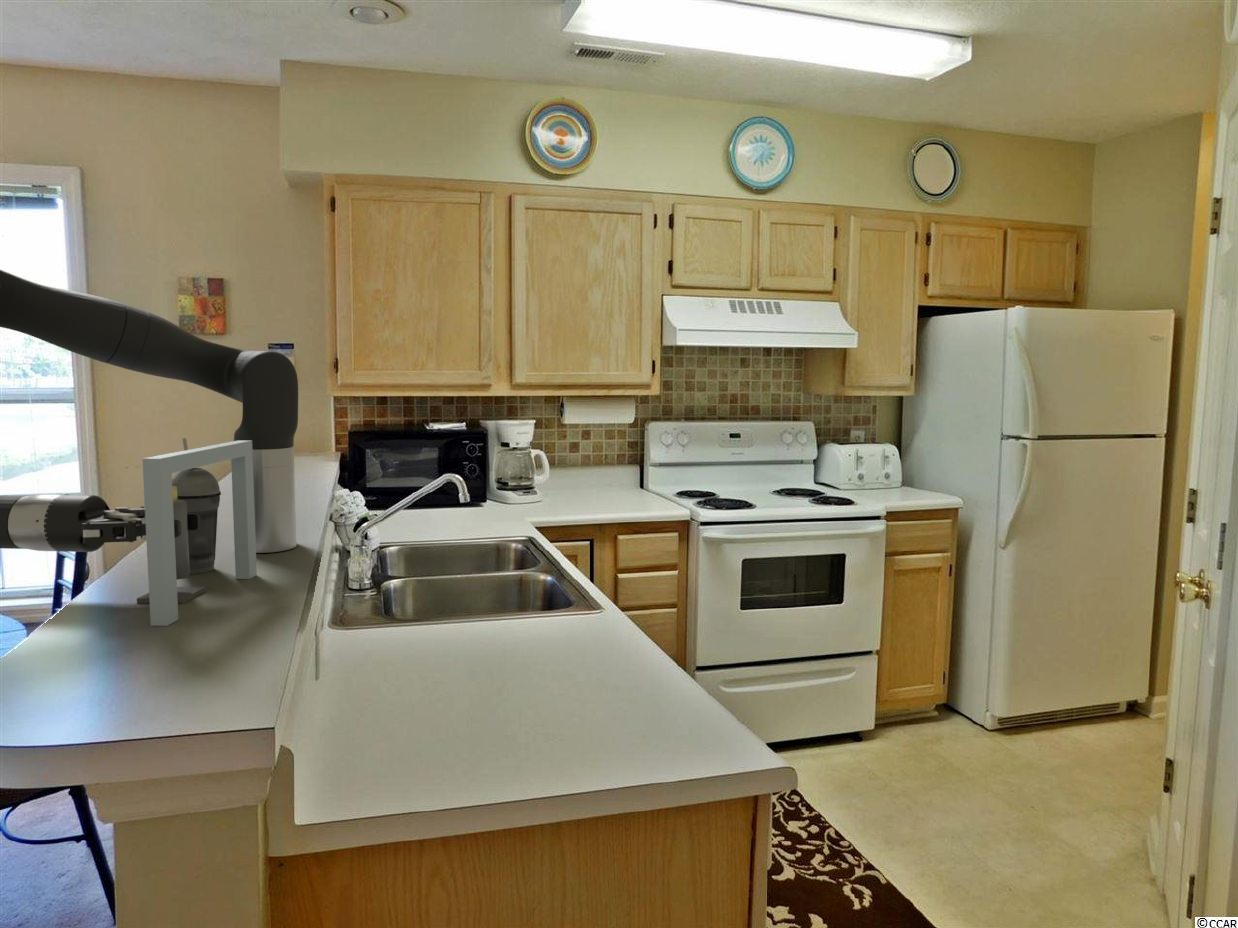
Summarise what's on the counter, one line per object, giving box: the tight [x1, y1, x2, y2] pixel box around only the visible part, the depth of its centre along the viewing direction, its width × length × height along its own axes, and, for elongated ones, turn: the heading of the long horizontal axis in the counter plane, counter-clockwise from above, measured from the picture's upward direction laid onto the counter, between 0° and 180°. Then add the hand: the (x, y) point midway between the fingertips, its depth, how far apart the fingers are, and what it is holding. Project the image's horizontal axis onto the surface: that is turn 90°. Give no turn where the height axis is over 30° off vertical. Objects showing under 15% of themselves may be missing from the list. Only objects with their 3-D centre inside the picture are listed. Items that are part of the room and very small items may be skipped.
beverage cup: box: [172, 437, 222, 575], centre depth 127 cm, size 7×7×20 cm
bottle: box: [172, 486, 190, 581], centre depth 113 cm, size 4×4×12 cm
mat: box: [136, 586, 206, 604], centre depth 114 cm, size 6×6×1 cm
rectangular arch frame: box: [142, 440, 258, 627], centre depth 113 cm, size 25×2×20 cm, turn 0°
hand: (189, 525), depth 113 cm, fingers closed on bottle, 4 cm apart
